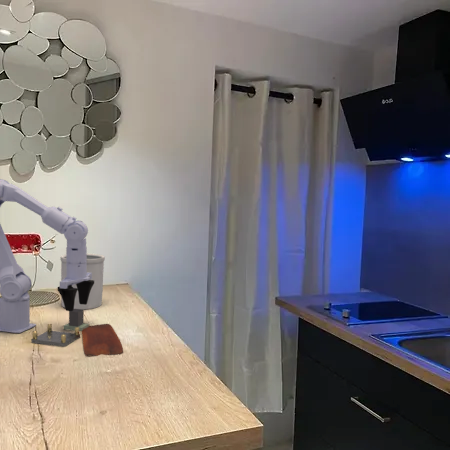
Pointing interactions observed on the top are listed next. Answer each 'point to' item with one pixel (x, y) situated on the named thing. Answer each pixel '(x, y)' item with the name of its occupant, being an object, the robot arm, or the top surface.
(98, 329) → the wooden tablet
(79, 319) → the green grey stepped block
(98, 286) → the utensil holder
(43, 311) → the top surface
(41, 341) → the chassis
